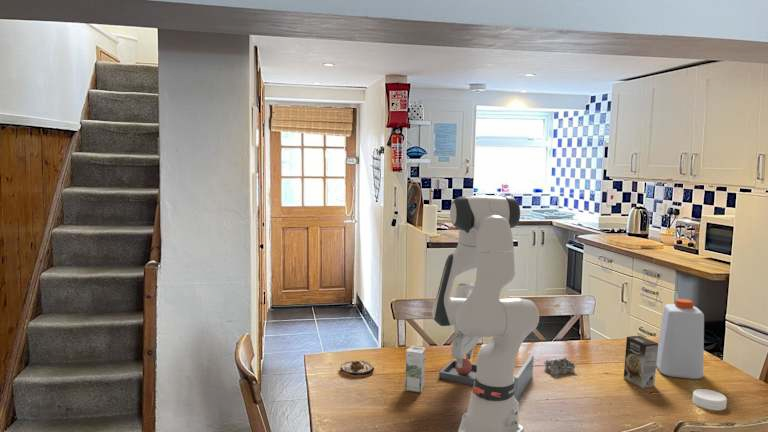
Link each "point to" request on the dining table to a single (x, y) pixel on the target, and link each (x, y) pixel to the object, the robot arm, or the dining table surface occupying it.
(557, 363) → the egg carton
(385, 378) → the dining table surface
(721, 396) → the white round lid
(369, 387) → the dining table surface
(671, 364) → the plastic bottle
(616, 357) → the dining table surface
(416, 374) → the syrup box
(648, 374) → the coffee box
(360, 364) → the dark rimmed plate
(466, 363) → the rubber ball
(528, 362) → the slate plastic wall
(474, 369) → the charcoal tray
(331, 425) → the dining table surface
